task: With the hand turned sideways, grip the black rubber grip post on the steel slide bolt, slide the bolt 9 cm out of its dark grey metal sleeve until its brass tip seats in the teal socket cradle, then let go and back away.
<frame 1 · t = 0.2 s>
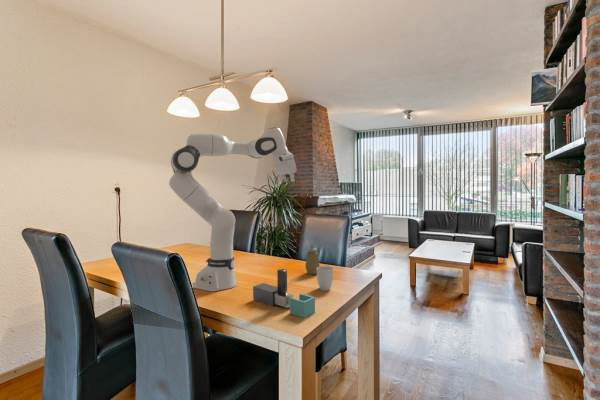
hand: (289, 181, 165), 52 cm above the table, tool tilted 20°, fingers open, 8 cm apart
slide bolt: (274, 284, 128), point 8 cm above the table, slide at 0.0 cm
socket: (302, 305, 118), on the table
squeeze bottle: (312, 273, 171), on the table
sleeve: (270, 302, 130), on the table
cup: (325, 289, 146), on the table
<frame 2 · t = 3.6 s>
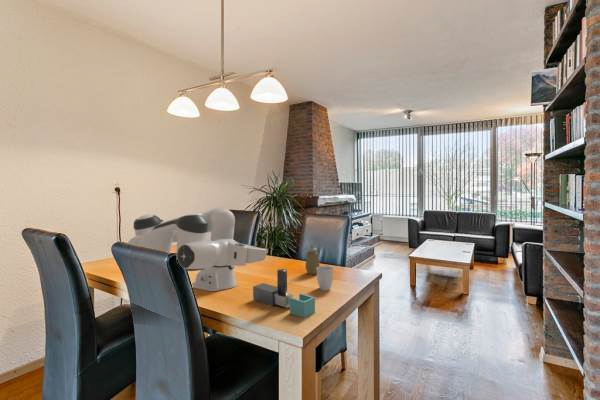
hand: (258, 248, 113), 26 cm above the table, tool horizontal, fingers open, 8 cm apart
nothing on the table moved.
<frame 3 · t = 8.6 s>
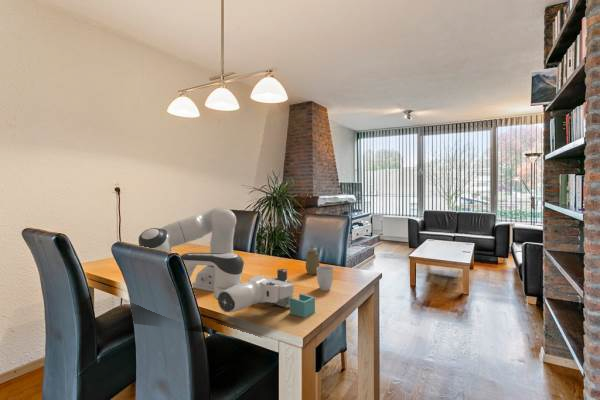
hand: (283, 280, 125), 11 cm above the table, tool horizontal, fingers closed on slide bolt, 4 cm apart
slide bolt: (274, 284, 128), point 8 cm above the table, slide at 0.0 cm, touching gripper
everything else where it was.
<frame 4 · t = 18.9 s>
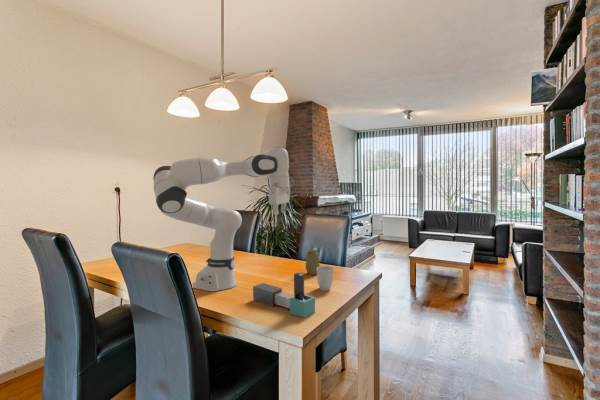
hand: (279, 213, 138), 37 cm above the table, tool pointing down, fingers open, 8 cm apart
slide bolt: (290, 289, 122), point 8 cm above the table, slide at 9.0 cm
everything else where it was.
at the end: slide bolt slide at 9.0 cm; the gripper is holding nothing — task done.
